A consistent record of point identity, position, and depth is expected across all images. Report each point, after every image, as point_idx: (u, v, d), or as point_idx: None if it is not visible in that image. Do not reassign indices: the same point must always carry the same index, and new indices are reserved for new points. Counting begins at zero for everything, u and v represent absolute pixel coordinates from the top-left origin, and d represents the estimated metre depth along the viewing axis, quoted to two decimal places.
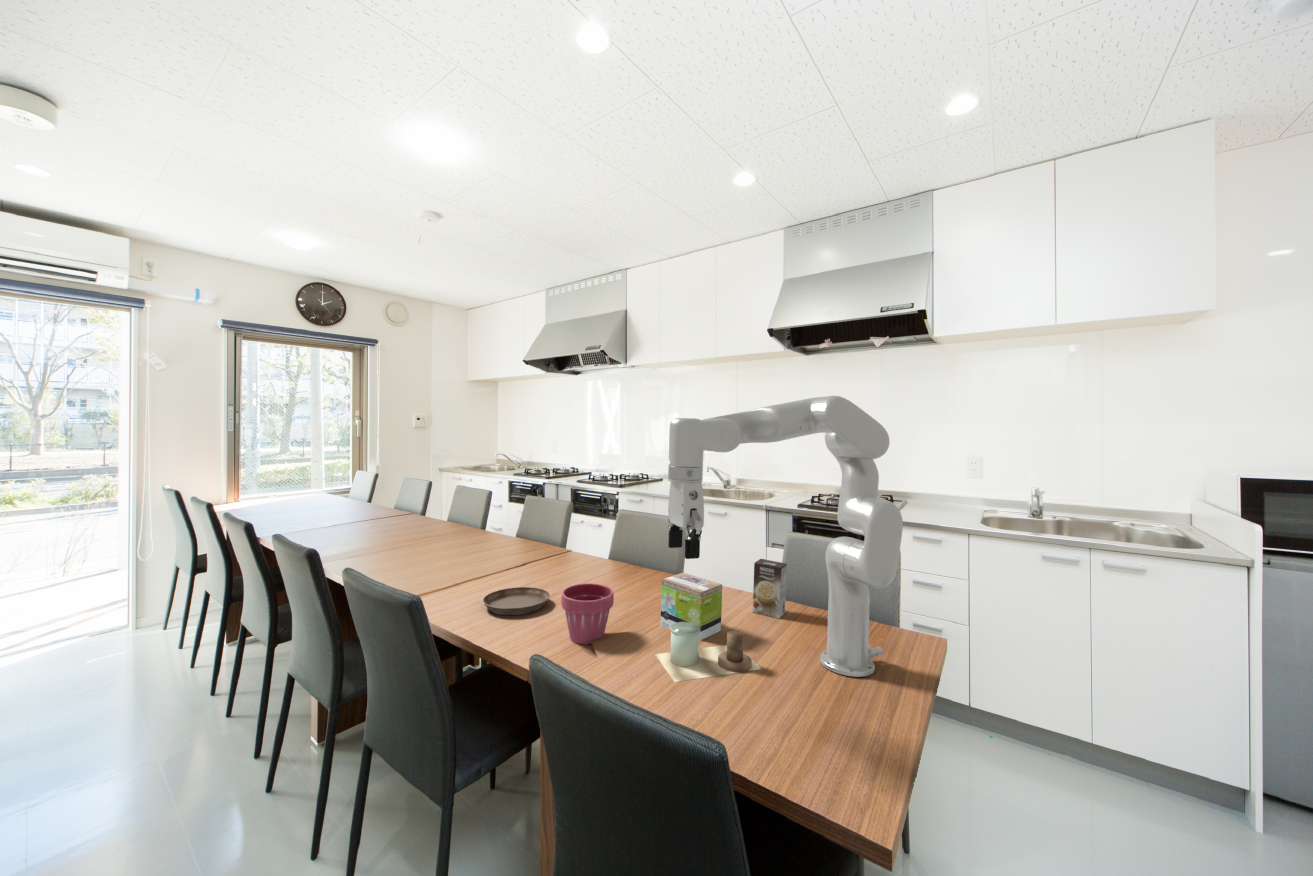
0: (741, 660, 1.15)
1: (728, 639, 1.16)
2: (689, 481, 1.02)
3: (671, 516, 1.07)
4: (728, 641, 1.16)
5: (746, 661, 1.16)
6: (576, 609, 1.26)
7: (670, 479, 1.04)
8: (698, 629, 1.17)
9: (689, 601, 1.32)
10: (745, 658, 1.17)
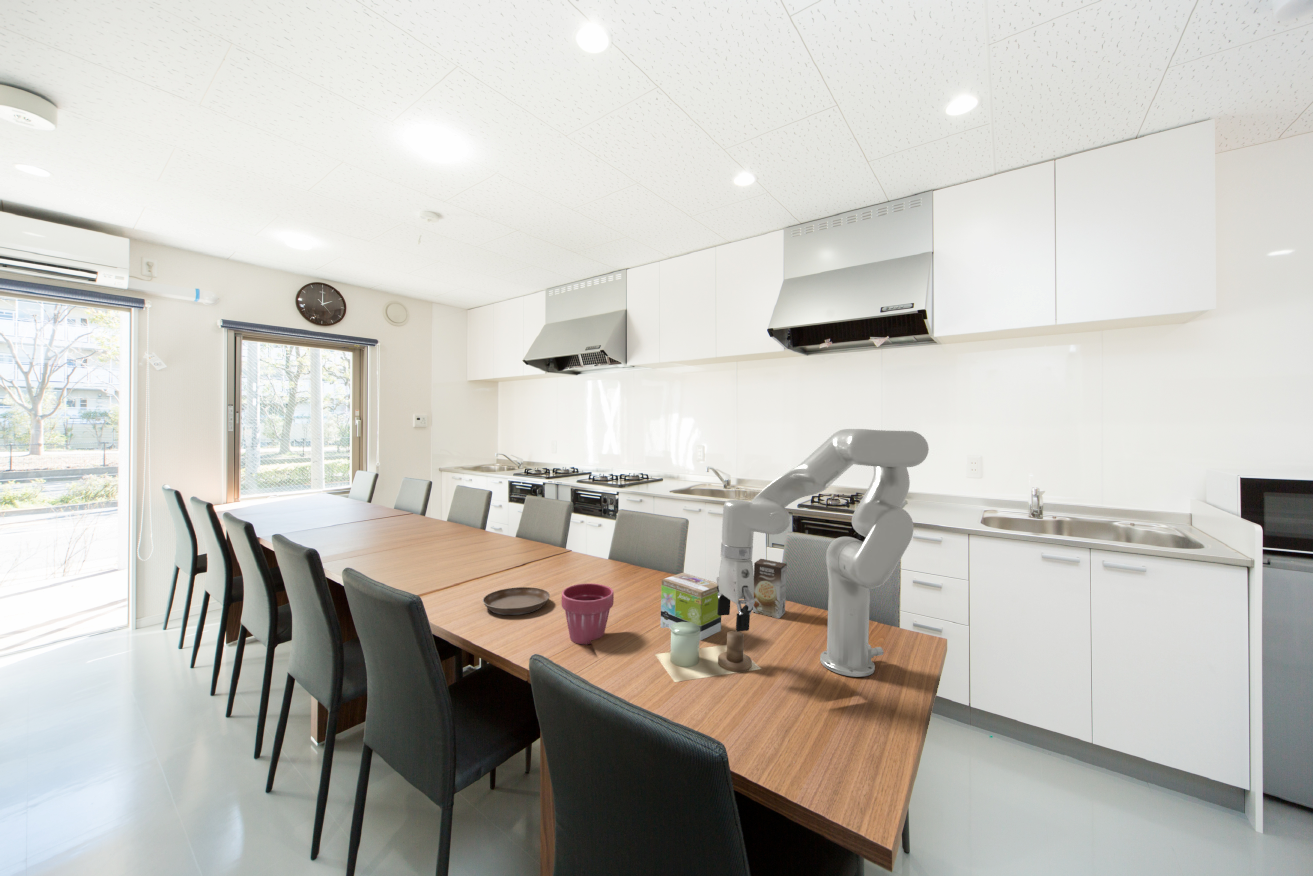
0: (741, 660, 1.15)
1: (728, 639, 1.16)
2: (741, 560, 1.13)
3: (721, 588, 1.18)
4: (728, 641, 1.16)
5: (746, 661, 1.16)
6: (576, 609, 1.26)
7: (723, 556, 1.15)
8: (698, 629, 1.17)
9: (689, 601, 1.32)
10: (745, 658, 1.17)
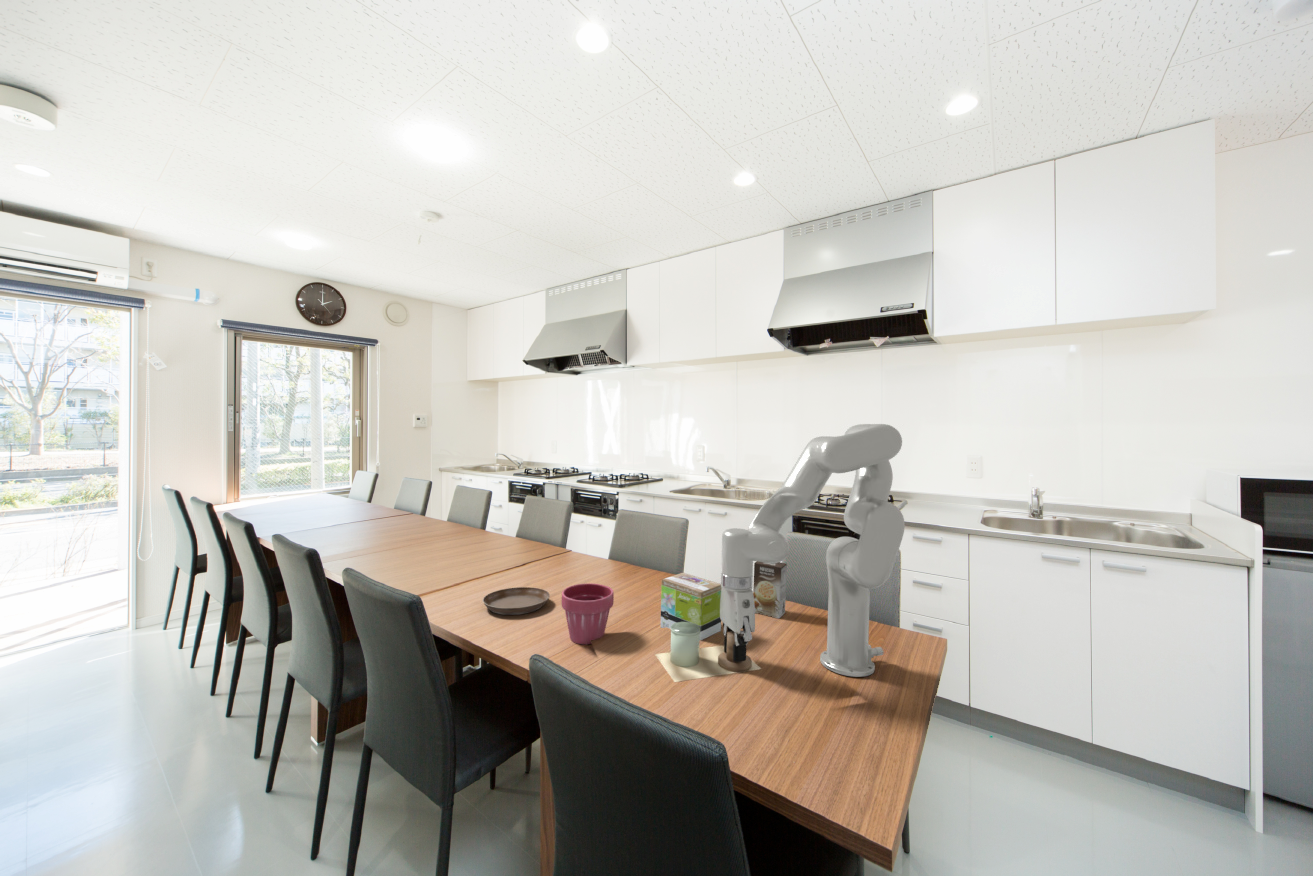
0: None
1: (728, 639, 1.16)
2: (742, 590, 1.13)
3: (723, 617, 1.18)
4: (728, 641, 1.16)
5: (746, 661, 1.16)
6: (576, 609, 1.26)
7: (723, 587, 1.15)
8: (698, 629, 1.17)
9: (689, 601, 1.32)
10: None
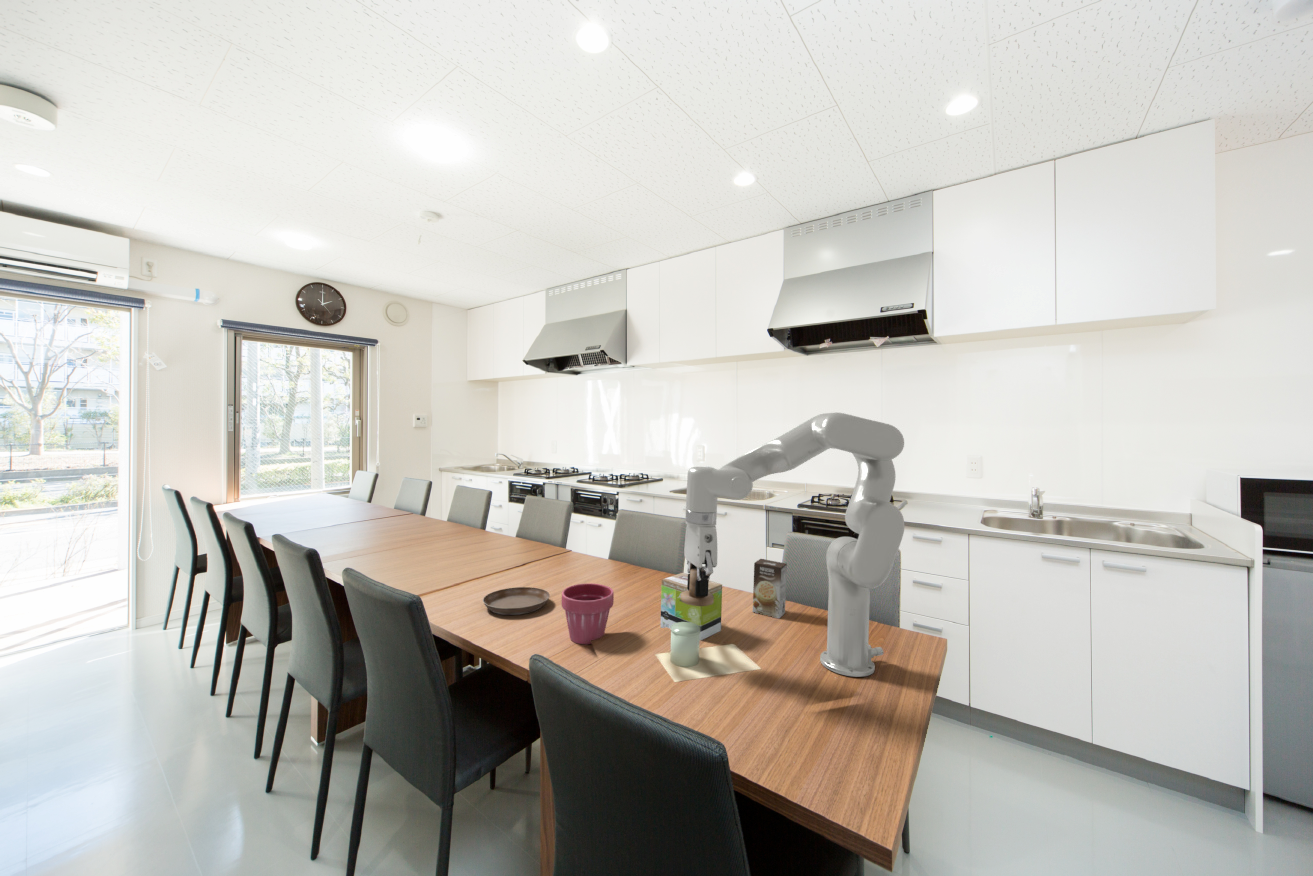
0: None
1: (691, 575, 1.17)
2: (705, 525, 1.14)
3: (687, 555, 1.19)
4: (691, 577, 1.17)
5: (708, 597, 1.16)
6: (576, 609, 1.26)
7: (687, 522, 1.16)
8: (698, 629, 1.17)
9: None
10: (708, 595, 1.18)
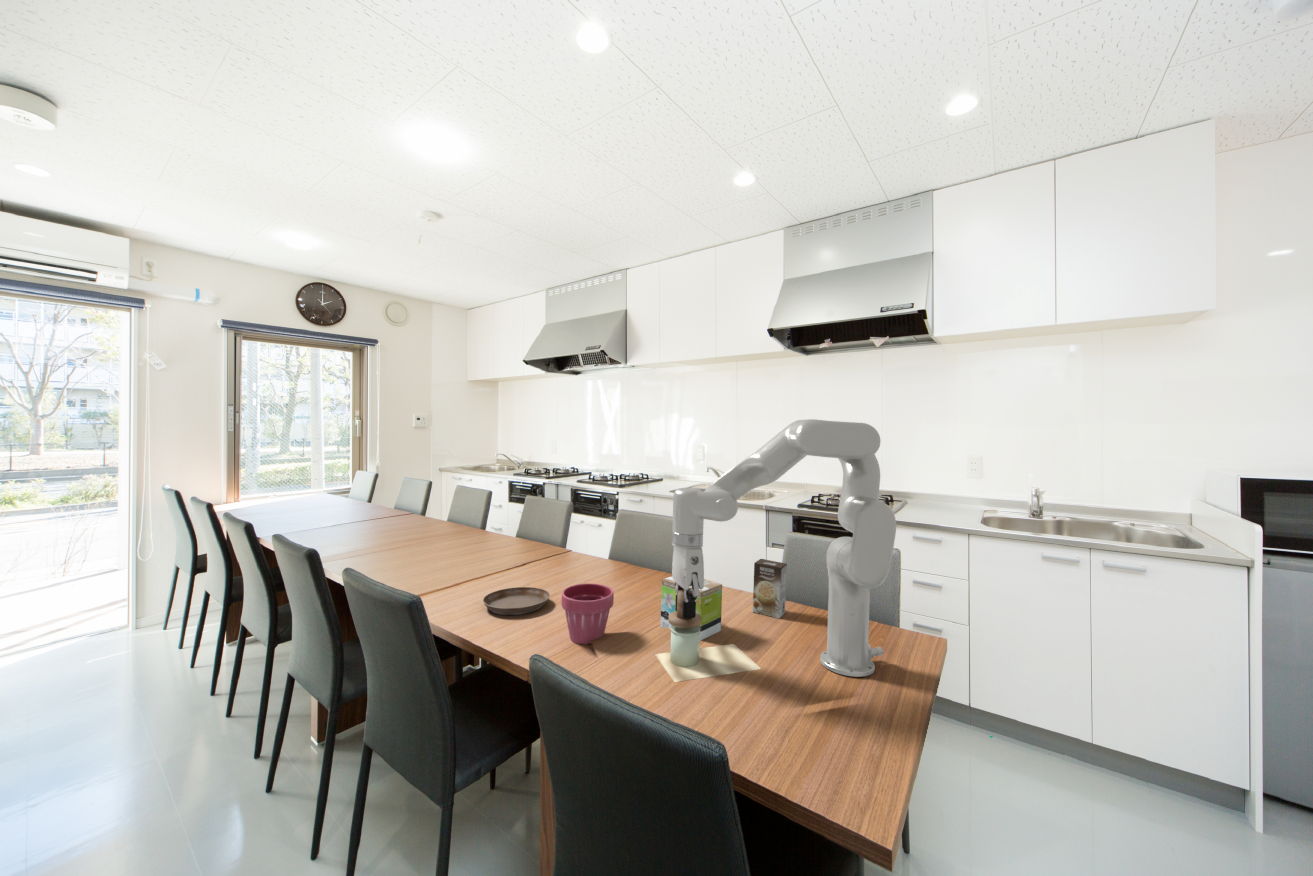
0: None
1: (678, 596, 1.17)
2: (691, 547, 1.14)
3: (674, 576, 1.19)
4: (678, 598, 1.17)
5: (696, 618, 1.17)
6: (576, 609, 1.26)
7: (674, 544, 1.16)
8: (698, 629, 1.17)
9: None
10: (695, 616, 1.18)
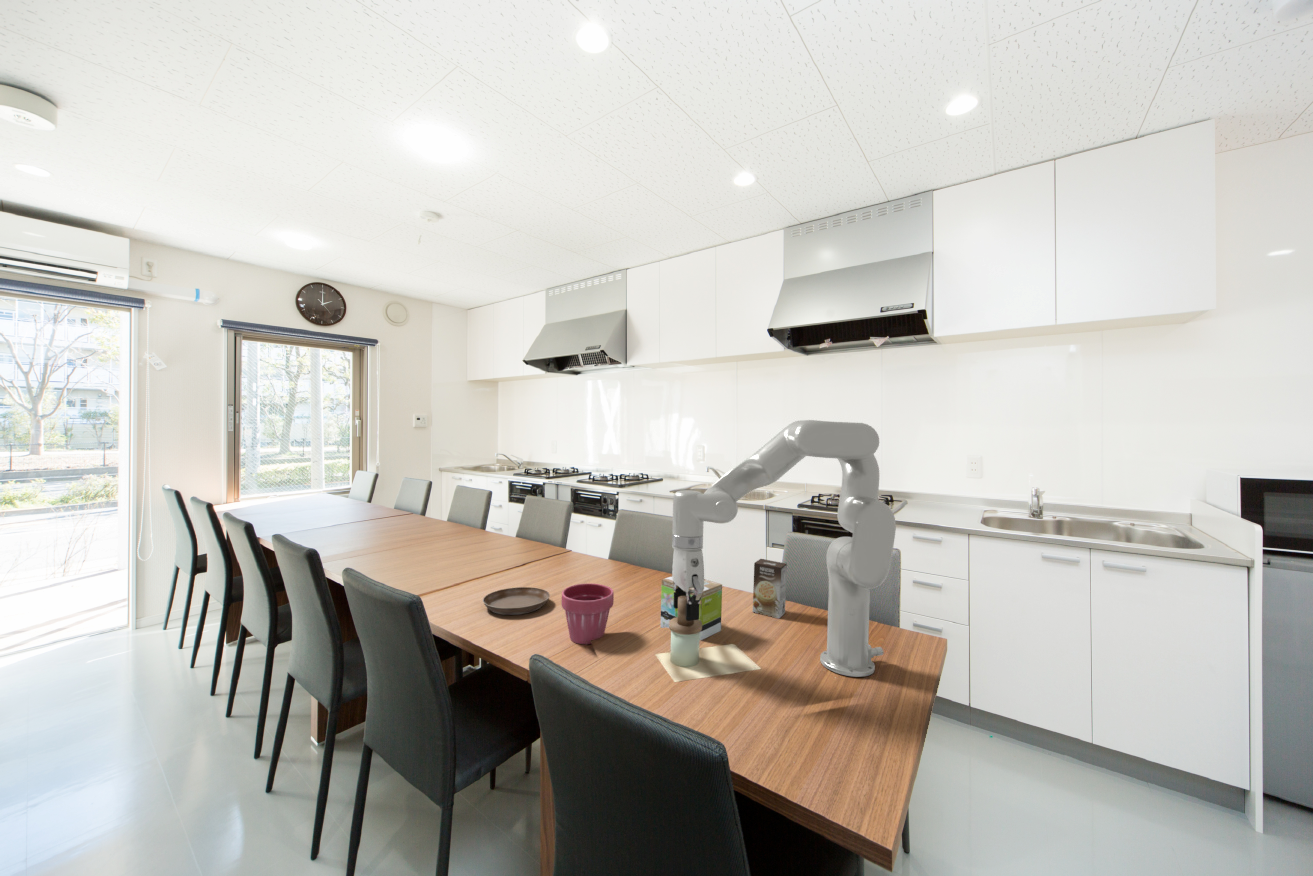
0: (691, 623, 1.16)
1: (679, 603, 1.17)
2: (691, 549, 1.14)
3: (674, 578, 1.19)
4: (678, 605, 1.17)
5: (696, 625, 1.17)
6: (576, 609, 1.26)
7: (674, 546, 1.16)
8: None
9: None
10: (696, 622, 1.18)
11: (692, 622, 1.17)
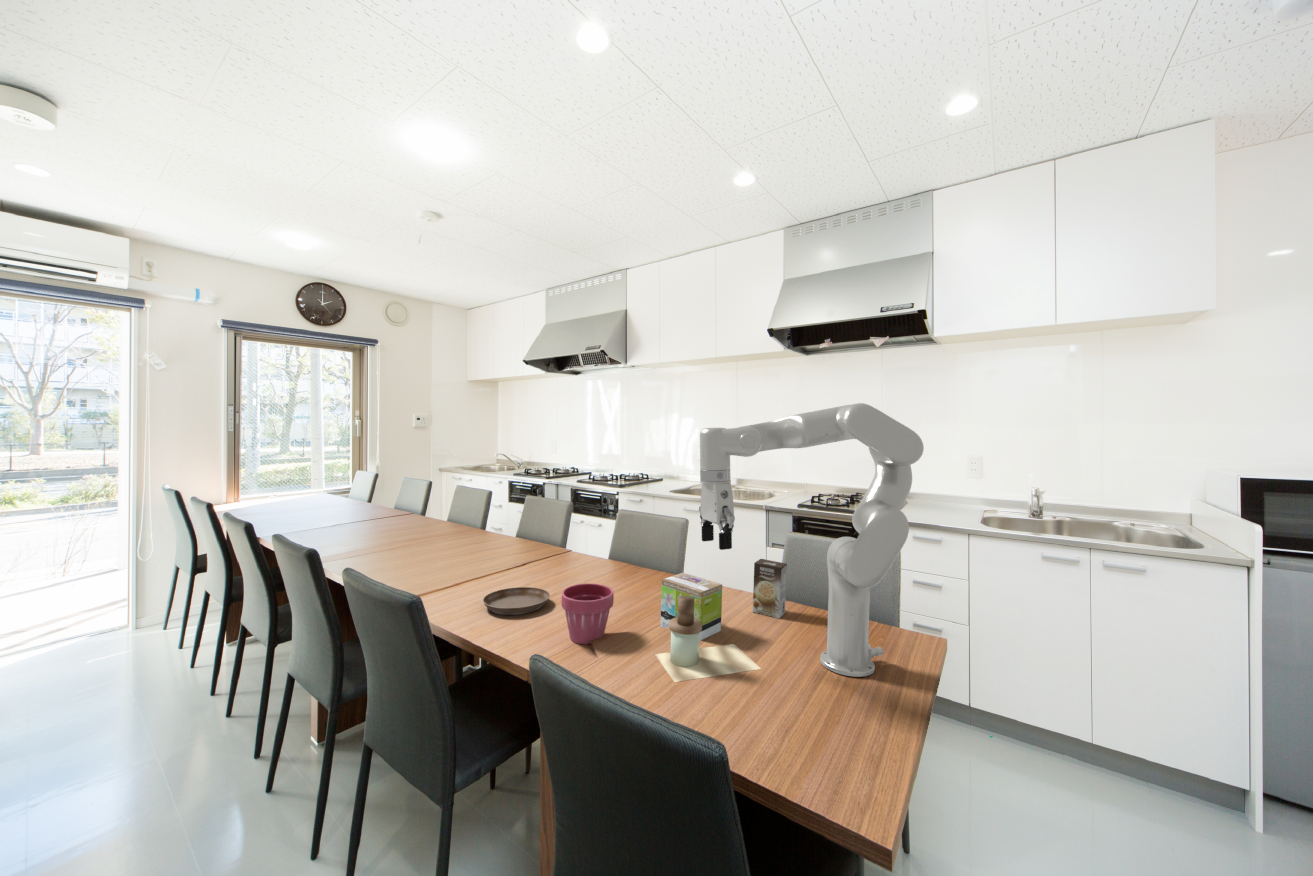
0: (691, 624, 1.16)
1: (679, 603, 1.17)
2: (720, 482, 1.18)
3: (704, 514, 1.23)
4: (679, 605, 1.17)
5: (696, 625, 1.17)
6: (576, 609, 1.26)
7: (703, 481, 1.19)
8: None
9: None
10: (696, 622, 1.18)
11: (692, 622, 1.17)
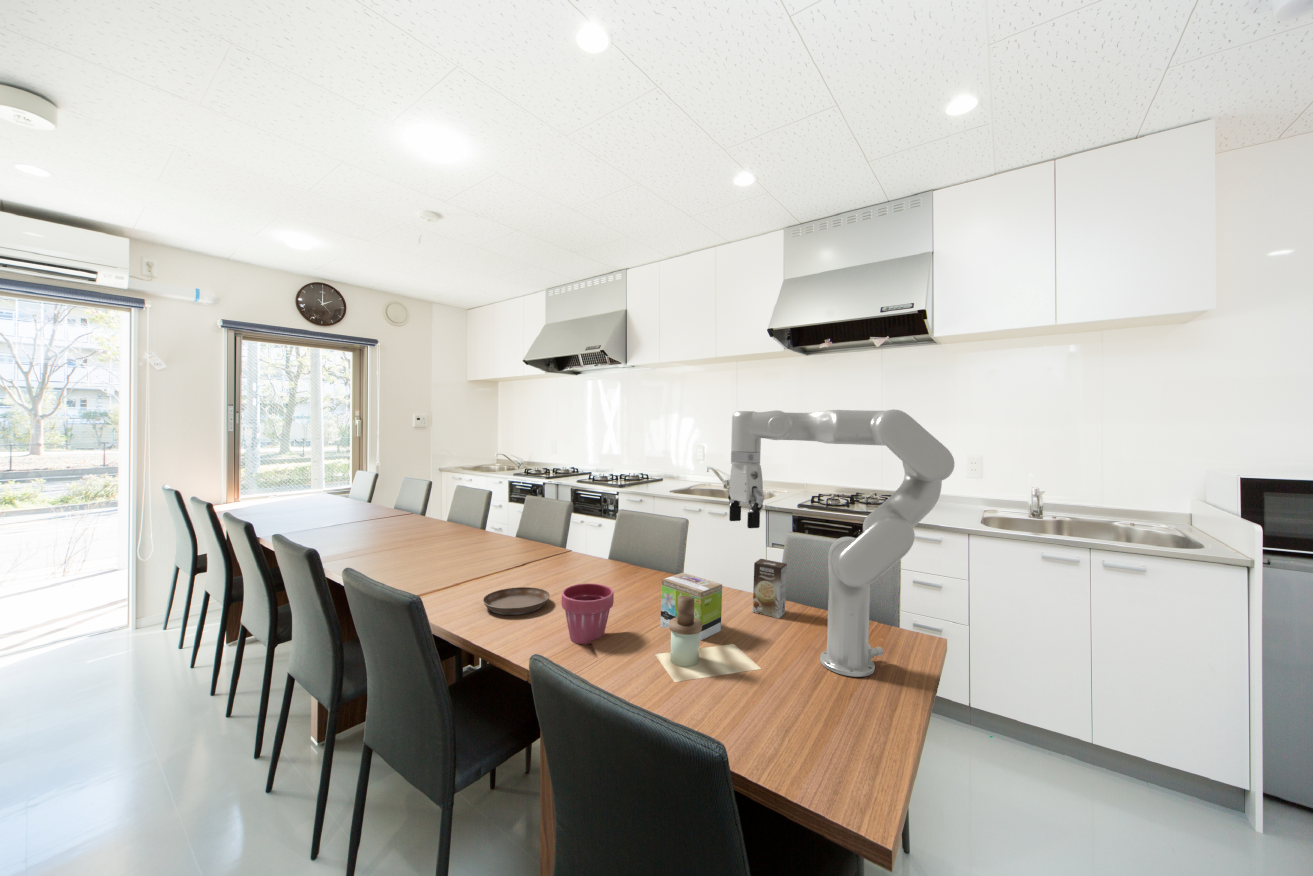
0: (691, 624, 1.16)
1: (679, 603, 1.17)
2: (750, 463, 1.22)
3: (733, 494, 1.27)
4: (679, 605, 1.17)
5: (696, 625, 1.17)
6: (576, 609, 1.26)
7: (733, 462, 1.24)
8: None
9: None
10: (696, 622, 1.18)
11: (692, 622, 1.17)
